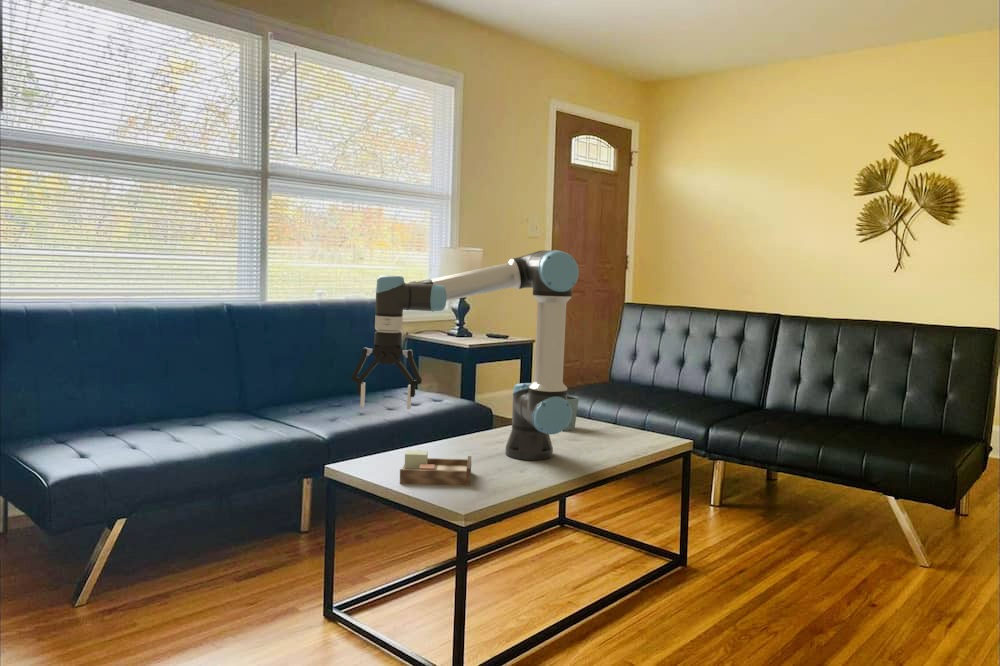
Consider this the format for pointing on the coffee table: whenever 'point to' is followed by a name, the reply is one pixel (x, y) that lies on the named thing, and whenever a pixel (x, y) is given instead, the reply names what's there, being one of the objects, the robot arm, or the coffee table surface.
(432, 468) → the rust block
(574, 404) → the grey-blue cup
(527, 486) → the coffee table surface
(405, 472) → the wooden tray
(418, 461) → the sage block
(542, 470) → the coffee table surface
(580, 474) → the coffee table surface
